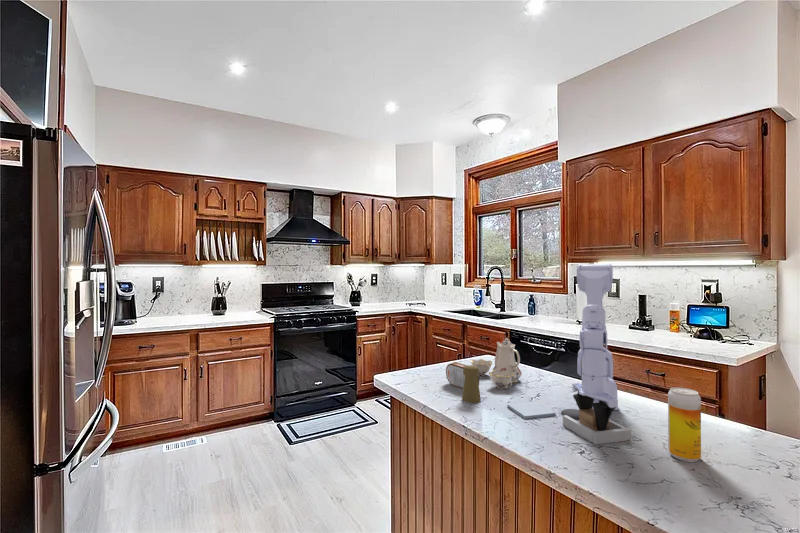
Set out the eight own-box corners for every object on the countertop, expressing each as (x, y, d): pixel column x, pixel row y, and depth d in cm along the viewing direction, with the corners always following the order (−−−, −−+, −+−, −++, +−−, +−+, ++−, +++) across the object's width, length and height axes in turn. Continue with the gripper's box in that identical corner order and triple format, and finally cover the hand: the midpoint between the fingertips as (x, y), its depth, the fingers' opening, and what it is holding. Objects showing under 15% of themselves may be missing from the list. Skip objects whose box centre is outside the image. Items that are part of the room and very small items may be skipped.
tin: (480, 392, 138) (479, 368, 138) (473, 394, 136) (473, 369, 136) (450, 382, 150) (450, 359, 150) (444, 383, 148) (444, 360, 148)
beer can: (702, 465, 87) (702, 396, 87) (668, 458, 90) (668, 392, 90) (699, 454, 92) (699, 389, 92) (667, 448, 95) (667, 385, 95)
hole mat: (578, 408, 121) (578, 407, 121) (597, 418, 113) (597, 417, 113) (555, 411, 119) (555, 410, 119) (573, 421, 111) (573, 420, 111)
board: (536, 404, 126) (536, 401, 126) (555, 415, 116) (555, 412, 116) (507, 406, 123) (507, 404, 123) (524, 418, 113) (524, 416, 113)
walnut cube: (595, 426, 108) (595, 408, 108) (608, 434, 103) (608, 414, 103) (579, 428, 107) (579, 409, 107) (592, 436, 102) (592, 416, 102)
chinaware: (464, 376, 163) (460, 336, 163) (500, 369, 168) (496, 330, 168) (501, 398, 136) (496, 350, 136) (542, 388, 141) (538, 342, 141)
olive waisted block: (480, 403, 126) (480, 368, 126) (461, 402, 128) (461, 368, 128) (480, 397, 132) (480, 364, 132) (462, 396, 134) (462, 363, 134)
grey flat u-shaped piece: (595, 421, 112) (595, 412, 112) (630, 439, 100) (630, 429, 100) (562, 424, 109) (562, 415, 109) (595, 444, 97) (595, 434, 97)
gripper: (562, 368, 111) (563, 417, 111) (600, 383, 97) (600, 438, 97) (584, 366, 113) (584, 414, 113) (624, 381, 99) (625, 435, 99)
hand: (593, 425), depth 105 cm, fingers closed on walnut cube, 5 cm apart
